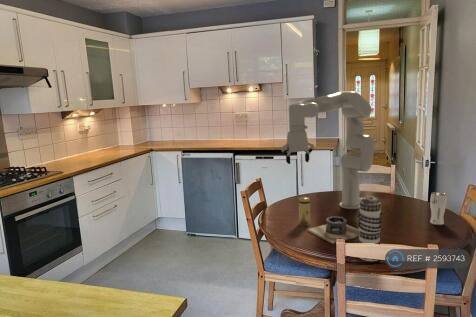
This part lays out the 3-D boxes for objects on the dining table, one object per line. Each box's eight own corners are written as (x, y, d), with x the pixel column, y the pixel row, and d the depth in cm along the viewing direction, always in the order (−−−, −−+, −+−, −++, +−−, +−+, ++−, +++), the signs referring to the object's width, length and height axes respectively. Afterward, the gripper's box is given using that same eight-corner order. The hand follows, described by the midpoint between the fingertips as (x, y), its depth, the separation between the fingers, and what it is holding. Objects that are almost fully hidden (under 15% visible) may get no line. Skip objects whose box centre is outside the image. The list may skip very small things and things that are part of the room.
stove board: (339, 222, 186) (339, 221, 185) (365, 234, 170) (365, 232, 170) (307, 230, 177) (307, 229, 177) (332, 243, 161) (332, 241, 161)
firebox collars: (337, 225, 179) (337, 215, 178) (350, 231, 171) (350, 220, 170) (322, 229, 175) (322, 218, 174) (335, 236, 167) (335, 224, 166)
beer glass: (443, 221, 182) (445, 192, 179) (446, 226, 176) (448, 196, 173) (428, 220, 185) (429, 191, 182) (430, 224, 178) (432, 195, 175)
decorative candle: (364, 249, 154) (365, 193, 150) (385, 256, 147) (387, 197, 143) (352, 256, 148) (353, 198, 144) (373, 263, 141) (375, 203, 137)
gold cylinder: (305, 221, 189) (305, 196, 187) (312, 224, 184) (312, 198, 182) (296, 223, 187) (296, 197, 184) (303, 227, 182) (303, 200, 179)
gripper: (310, 126, 184) (311, 159, 187) (278, 129, 181) (279, 162, 184) (316, 128, 176) (316, 162, 180) (282, 131, 173) (283, 165, 177)
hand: (297, 162), depth 182 cm, fingers open, 9 cm apart
